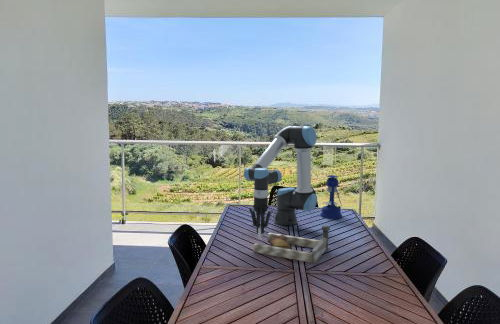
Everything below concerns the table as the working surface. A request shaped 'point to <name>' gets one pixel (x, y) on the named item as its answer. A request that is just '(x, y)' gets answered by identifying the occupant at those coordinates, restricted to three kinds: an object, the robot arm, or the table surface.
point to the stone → (279, 242)
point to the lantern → (332, 200)
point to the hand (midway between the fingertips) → (260, 239)
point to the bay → (294, 254)
